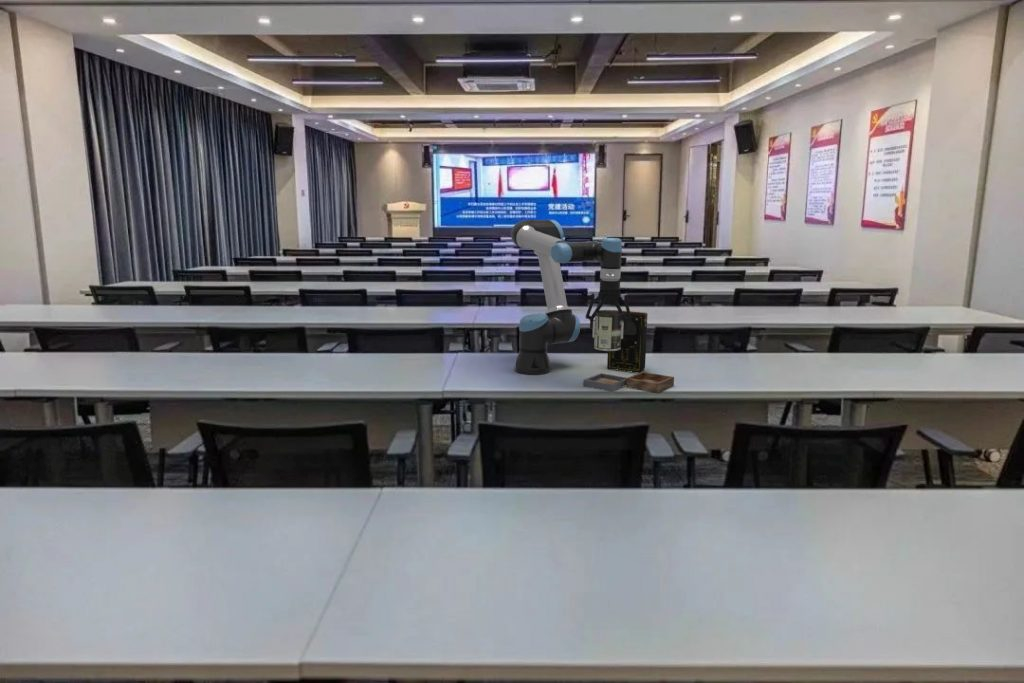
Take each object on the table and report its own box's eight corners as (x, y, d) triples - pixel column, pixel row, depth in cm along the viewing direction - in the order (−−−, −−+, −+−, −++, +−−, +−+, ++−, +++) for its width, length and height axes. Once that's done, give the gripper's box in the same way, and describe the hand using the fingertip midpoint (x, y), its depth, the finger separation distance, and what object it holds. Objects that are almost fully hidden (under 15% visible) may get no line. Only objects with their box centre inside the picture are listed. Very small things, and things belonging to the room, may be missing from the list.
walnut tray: (625, 387, 264) (626, 378, 263) (642, 380, 274) (642, 371, 273) (658, 393, 256) (658, 384, 255) (673, 385, 266) (674, 376, 265)
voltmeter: (605, 369, 291) (607, 311, 286) (612, 365, 298) (614, 308, 293) (641, 374, 283) (643, 314, 278) (647, 369, 291) (650, 311, 286)
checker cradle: (583, 385, 265) (583, 379, 265) (600, 379, 275) (600, 373, 275) (612, 391, 257) (613, 385, 257) (629, 384, 267) (629, 378, 267)
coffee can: (617, 345, 269) (619, 309, 266) (623, 351, 259) (625, 314, 256) (591, 345, 268) (592, 309, 265) (596, 351, 258) (597, 314, 255)
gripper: (579, 279, 256) (577, 338, 261) (641, 281, 253) (637, 340, 258) (580, 277, 263) (578, 334, 268) (640, 279, 260) (637, 336, 265)
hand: (607, 337), depth 263 cm, fingers closed on coffee can, 10 cm apart
